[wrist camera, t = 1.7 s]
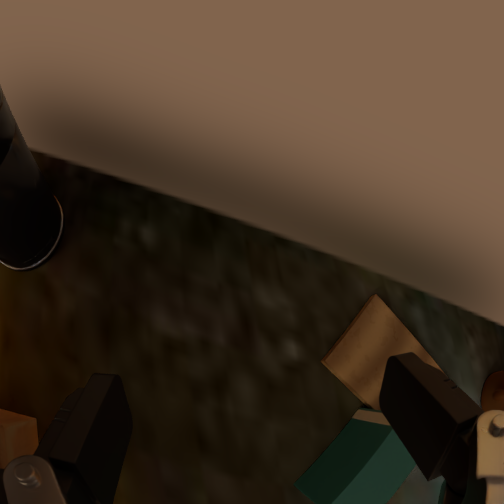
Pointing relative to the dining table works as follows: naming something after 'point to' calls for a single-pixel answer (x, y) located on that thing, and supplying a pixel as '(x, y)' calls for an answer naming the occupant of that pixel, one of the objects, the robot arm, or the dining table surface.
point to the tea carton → (359, 464)
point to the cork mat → (371, 350)
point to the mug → (493, 392)
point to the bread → (16, 436)
